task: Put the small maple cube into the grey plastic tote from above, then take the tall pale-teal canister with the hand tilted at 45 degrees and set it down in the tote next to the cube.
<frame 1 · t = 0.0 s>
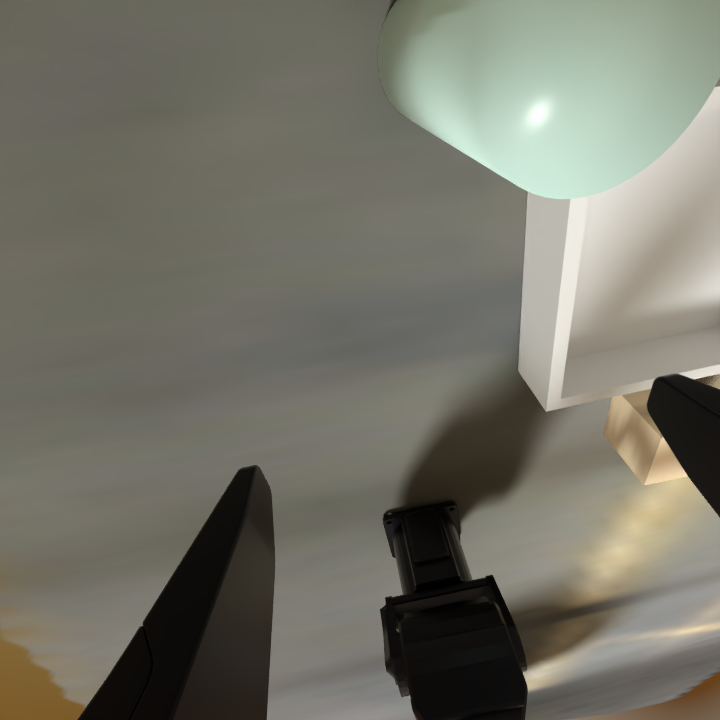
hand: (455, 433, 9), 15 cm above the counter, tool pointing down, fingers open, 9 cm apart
canister: (436, 55, 17), on the counter
tote: (643, 238, 24), on the counter
cube: (640, 404, 32), on the counter
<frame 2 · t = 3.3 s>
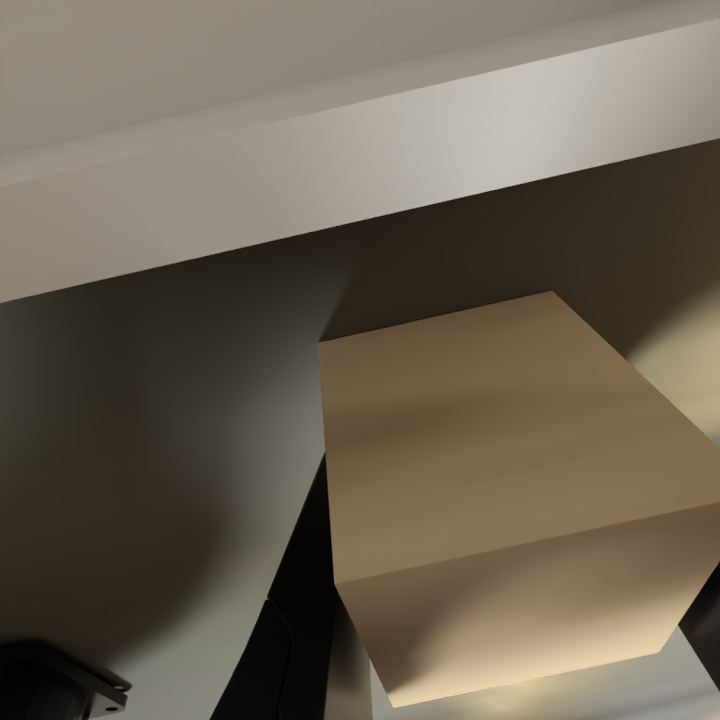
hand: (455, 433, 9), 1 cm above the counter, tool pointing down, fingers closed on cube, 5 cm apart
cube: (442, 402, 10), on the counter, touching gripper
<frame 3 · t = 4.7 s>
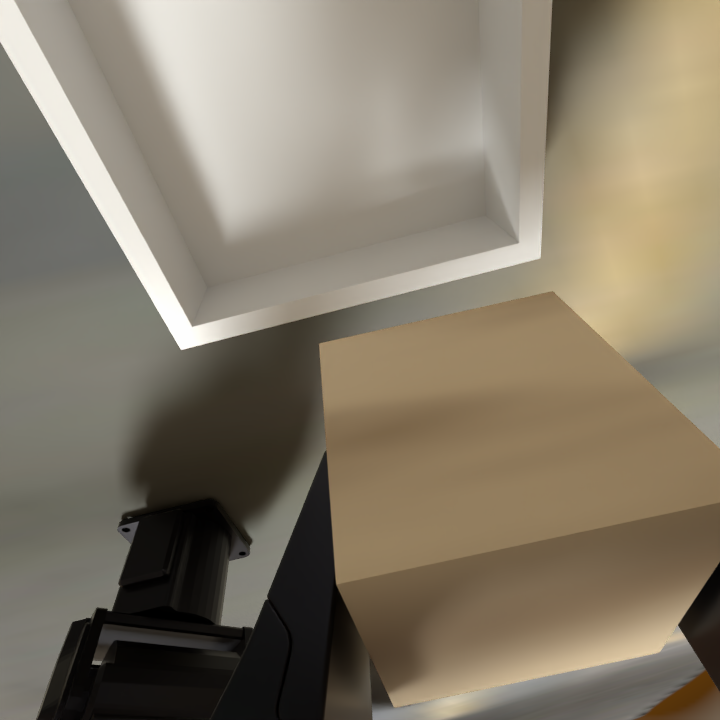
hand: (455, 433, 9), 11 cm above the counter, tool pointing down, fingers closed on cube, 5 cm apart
tote: (294, 47, 14), on the counter
cube: (443, 403, 10), point 10 cm above the counter, touching gripper
when the fingers open (4 cm above the counter, at t = 6.5 s): cube drops 3 cm, resting on tote.
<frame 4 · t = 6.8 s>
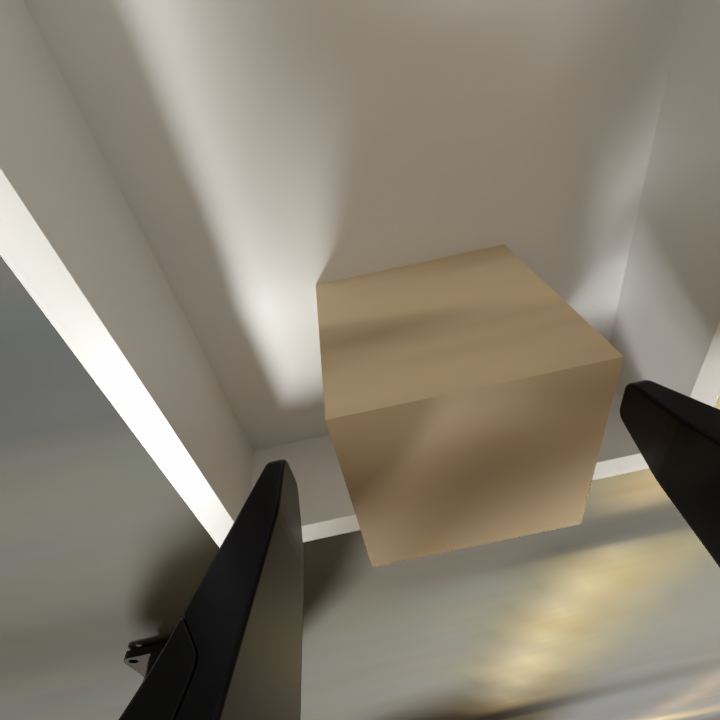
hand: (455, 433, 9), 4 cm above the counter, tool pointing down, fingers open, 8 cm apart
tote: (395, 196, 11), on the counter
cube: (418, 342, 12), point 1 cm above the counter, touching tote
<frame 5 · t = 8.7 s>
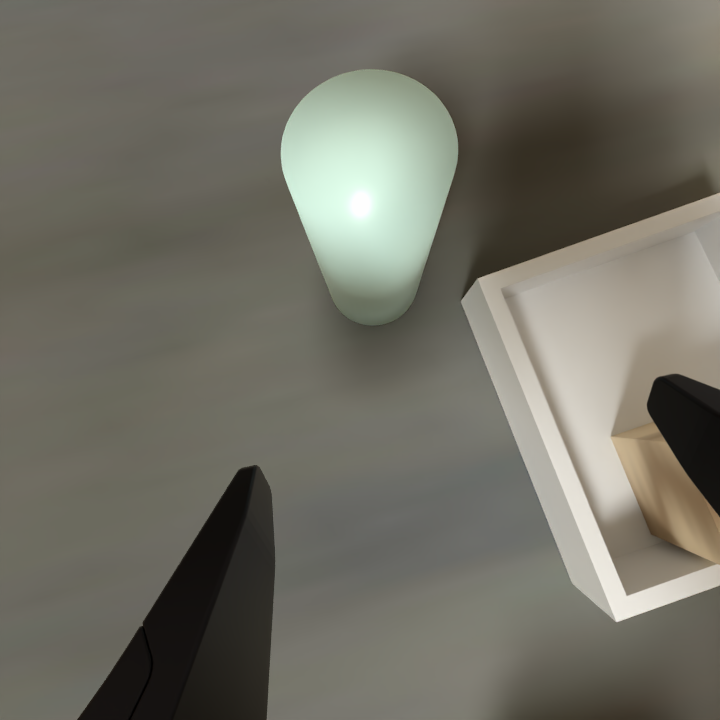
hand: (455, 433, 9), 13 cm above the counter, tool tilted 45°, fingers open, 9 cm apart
canister: (373, 282, 24), on the counter
tote: (634, 393, 22), on the counter
cube: (677, 468, 21), point 1 cm above the counter, touching tote
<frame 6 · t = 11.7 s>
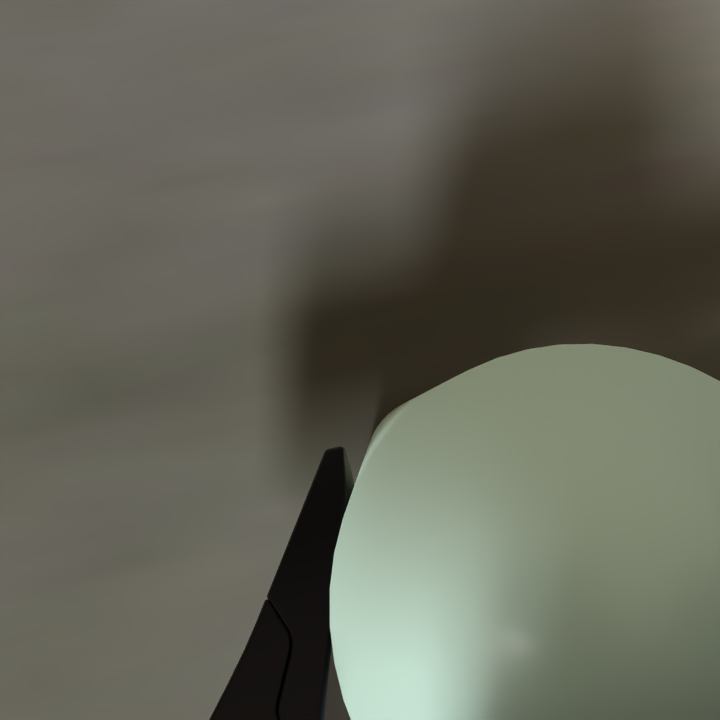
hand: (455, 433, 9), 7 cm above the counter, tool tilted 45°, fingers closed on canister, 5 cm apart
canister: (432, 464, 16), on the counter, touching gripper
when the fingers open (9 cm above the counter, at t = 15.2 s): canister drops 2 cm, resting on tote.
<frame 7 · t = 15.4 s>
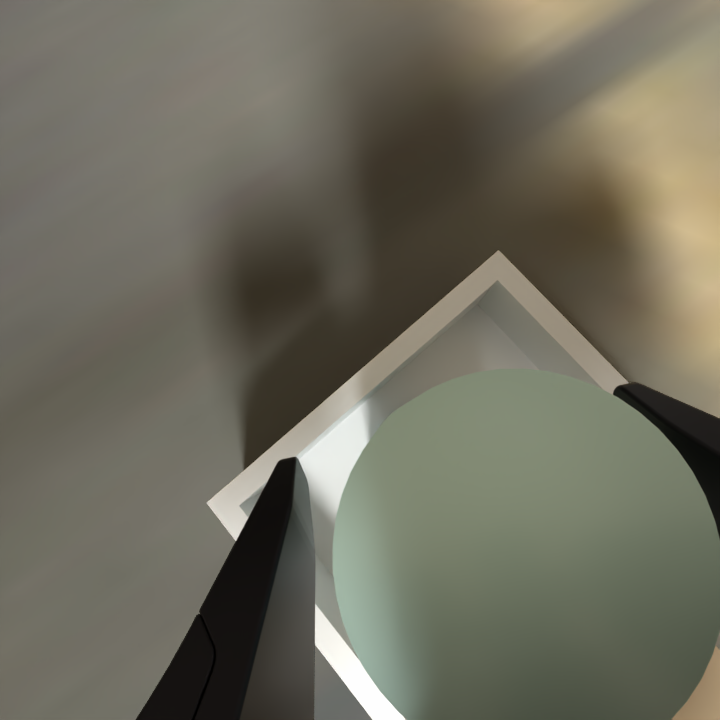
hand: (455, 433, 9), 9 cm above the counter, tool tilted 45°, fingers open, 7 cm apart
canister: (430, 460, 17), point 1 cm above the counter, touching tote
tote: (481, 521, 18), on the counter
cube: (558, 608, 16), point 1 cm above the counter, touching tote
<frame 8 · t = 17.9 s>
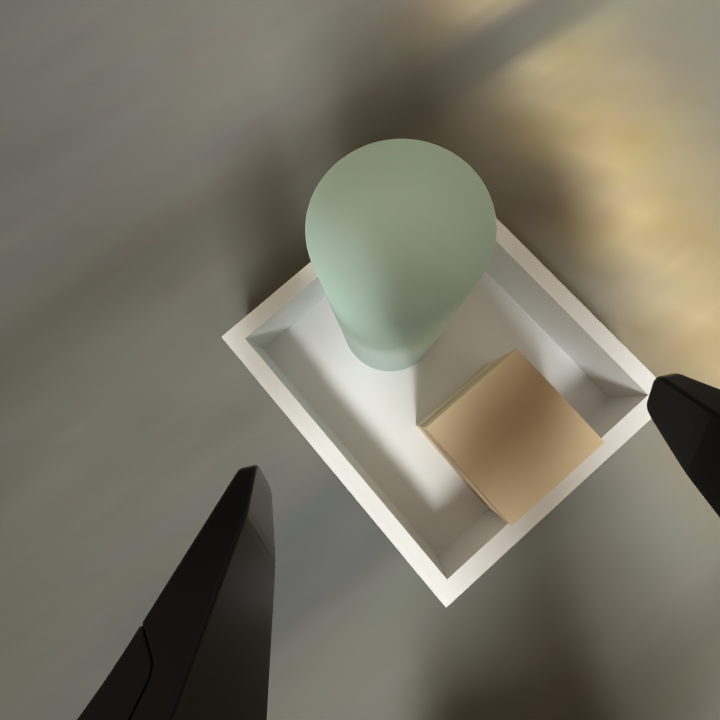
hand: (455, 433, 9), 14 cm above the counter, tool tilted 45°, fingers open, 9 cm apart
canister: (389, 325, 23), point 1 cm above the counter, touching tote
tote: (429, 374, 23), on the counter
cube: (484, 431, 22), point 1 cm above the counter, touching tote
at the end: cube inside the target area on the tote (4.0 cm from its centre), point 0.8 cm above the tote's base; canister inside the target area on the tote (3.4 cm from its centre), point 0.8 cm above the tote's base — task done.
